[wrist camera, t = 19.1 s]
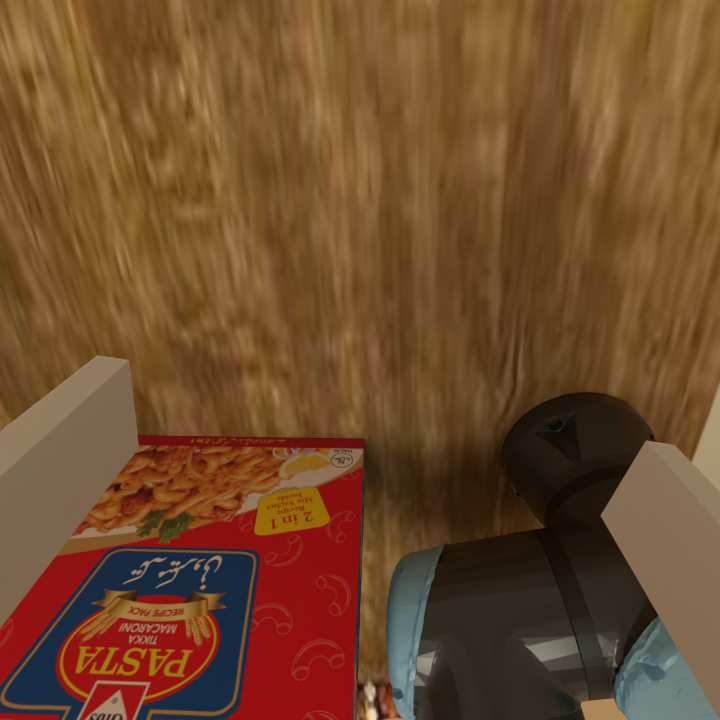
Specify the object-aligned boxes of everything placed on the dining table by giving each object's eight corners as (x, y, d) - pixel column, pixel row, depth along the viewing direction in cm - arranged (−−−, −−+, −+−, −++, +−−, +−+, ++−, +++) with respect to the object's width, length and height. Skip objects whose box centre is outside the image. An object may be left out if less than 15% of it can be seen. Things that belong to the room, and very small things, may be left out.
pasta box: (364, 438, 47) (349, 774, 23) (364, 491, 51) (352, 828, 26) (117, 435, 48) (-154, 752, 24) (135, 487, 52) (-82, 806, 27)
